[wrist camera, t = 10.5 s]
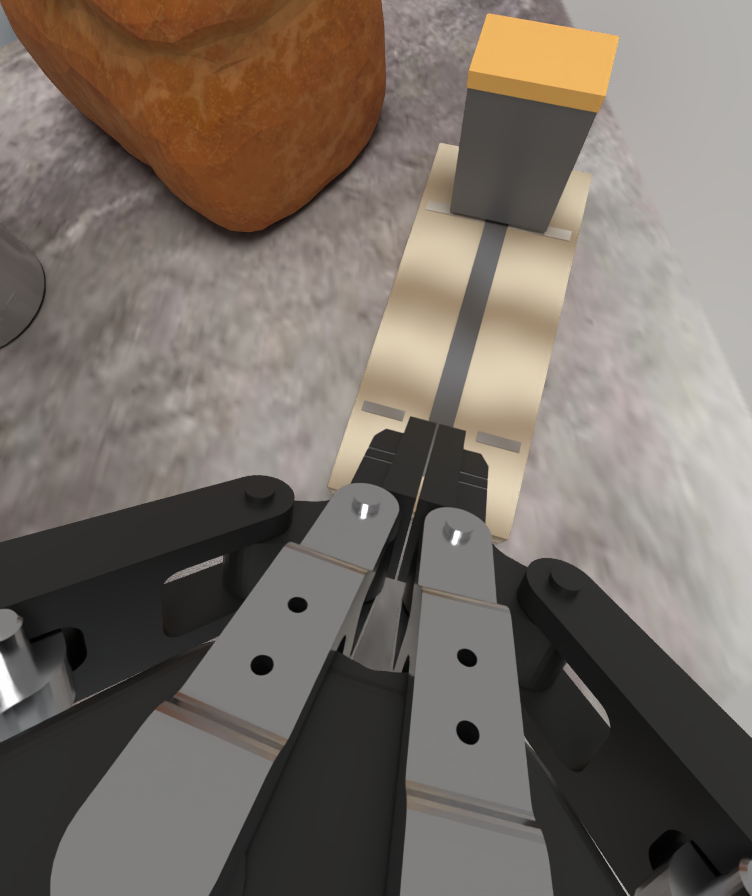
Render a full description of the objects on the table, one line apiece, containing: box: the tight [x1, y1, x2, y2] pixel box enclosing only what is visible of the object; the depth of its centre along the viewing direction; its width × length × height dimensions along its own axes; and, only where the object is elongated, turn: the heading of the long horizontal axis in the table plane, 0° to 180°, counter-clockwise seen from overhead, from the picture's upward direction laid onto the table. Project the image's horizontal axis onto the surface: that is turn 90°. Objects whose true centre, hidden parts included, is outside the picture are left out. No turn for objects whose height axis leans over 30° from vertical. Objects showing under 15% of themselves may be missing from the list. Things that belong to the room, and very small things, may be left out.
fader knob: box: [450, 13, 619, 232], centre depth 27 cm, size 4×6×9 cm, turn 73°
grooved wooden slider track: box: [327, 143, 592, 543], centre depth 30 cm, size 24×10×3 cm, turn 163°
